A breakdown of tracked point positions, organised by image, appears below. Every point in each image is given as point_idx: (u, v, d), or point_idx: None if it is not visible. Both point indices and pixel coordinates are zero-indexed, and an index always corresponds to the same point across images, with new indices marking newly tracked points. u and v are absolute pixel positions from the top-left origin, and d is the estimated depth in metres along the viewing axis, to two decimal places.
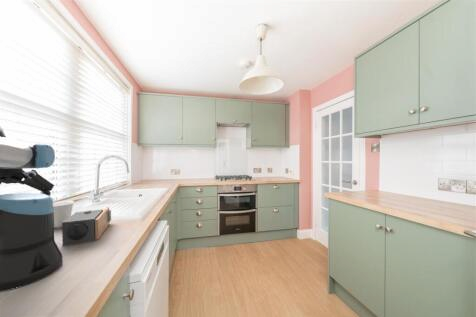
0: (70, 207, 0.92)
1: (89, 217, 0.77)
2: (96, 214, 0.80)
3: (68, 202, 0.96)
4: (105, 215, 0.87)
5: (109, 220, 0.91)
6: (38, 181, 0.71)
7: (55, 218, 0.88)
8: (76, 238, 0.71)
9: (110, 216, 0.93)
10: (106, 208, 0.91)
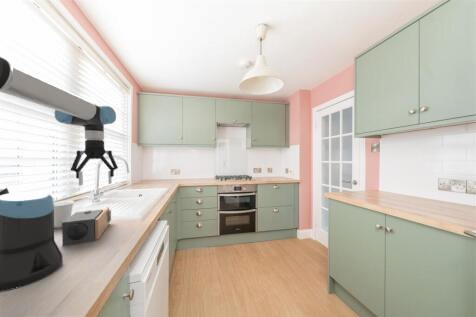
0: (70, 207, 0.92)
1: (89, 217, 0.77)
2: (96, 214, 0.80)
3: (68, 202, 0.96)
4: (105, 215, 0.87)
5: (109, 220, 0.91)
6: (111, 158, 0.94)
7: (55, 218, 0.88)
8: (76, 238, 0.71)
9: (110, 216, 0.93)
10: (106, 208, 0.91)
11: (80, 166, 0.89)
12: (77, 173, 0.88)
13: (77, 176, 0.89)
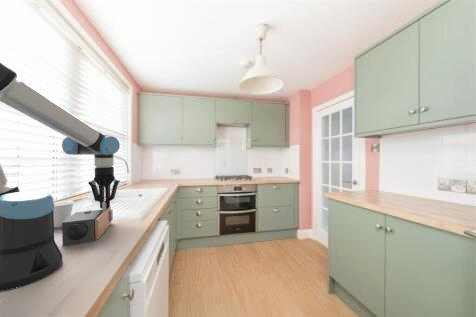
0: (70, 207, 0.92)
1: (89, 217, 0.77)
2: (96, 214, 0.80)
3: (68, 202, 0.96)
4: (106, 215, 0.87)
5: (110, 220, 0.91)
6: (114, 188, 0.91)
7: (55, 218, 0.88)
8: (76, 238, 0.71)
9: (112, 216, 0.93)
10: (108, 208, 0.91)
11: (100, 196, 0.89)
12: (101, 203, 0.90)
13: (101, 206, 0.90)
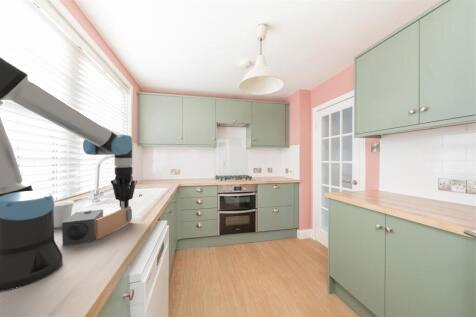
0: (70, 207, 0.92)
1: (89, 217, 0.77)
2: (96, 214, 0.80)
3: (68, 202, 0.96)
4: (119, 214, 0.87)
5: (127, 219, 0.92)
6: (130, 189, 0.91)
7: (55, 218, 0.88)
8: (76, 238, 0.71)
9: (130, 215, 0.93)
10: (126, 207, 0.92)
11: (119, 195, 0.92)
12: (120, 202, 0.92)
13: (120, 205, 0.92)
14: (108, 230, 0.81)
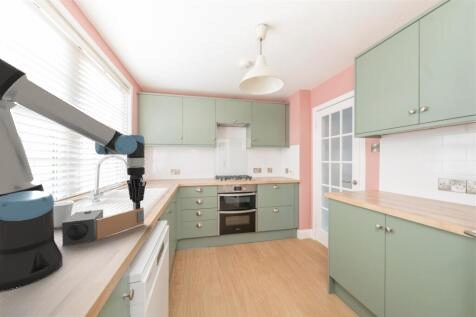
0: (70, 207, 0.92)
1: (89, 217, 0.77)
2: (96, 214, 0.80)
3: (68, 202, 0.96)
4: (127, 216, 0.86)
5: (137, 221, 0.89)
6: (139, 190, 0.87)
7: (55, 218, 0.88)
8: (76, 238, 0.71)
9: (141, 217, 0.90)
10: None
11: (132, 195, 0.90)
12: None
13: None
14: (111, 231, 0.80)
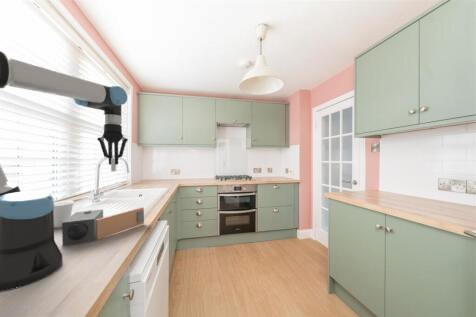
0: (70, 207, 0.92)
1: (89, 217, 0.77)
2: (96, 214, 0.80)
3: (68, 202, 0.96)
4: (127, 216, 0.86)
5: (137, 221, 0.89)
6: (123, 146, 0.94)
7: (55, 218, 0.88)
8: (76, 238, 0.71)
9: (141, 217, 0.90)
10: None
11: (109, 152, 0.92)
12: (109, 159, 0.93)
13: (109, 162, 0.93)
14: (111, 231, 0.80)
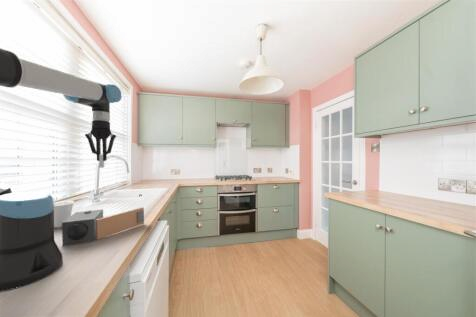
0: (70, 207, 0.92)
1: (89, 217, 0.77)
2: (96, 214, 0.80)
3: (68, 202, 0.96)
4: (127, 216, 0.86)
5: (137, 221, 0.89)
6: (111, 142, 0.95)
7: (55, 218, 0.88)
8: (76, 238, 0.71)
9: (141, 217, 0.90)
10: None
11: (97, 148, 0.93)
12: (98, 156, 0.93)
13: (98, 158, 0.93)
14: (111, 231, 0.80)
